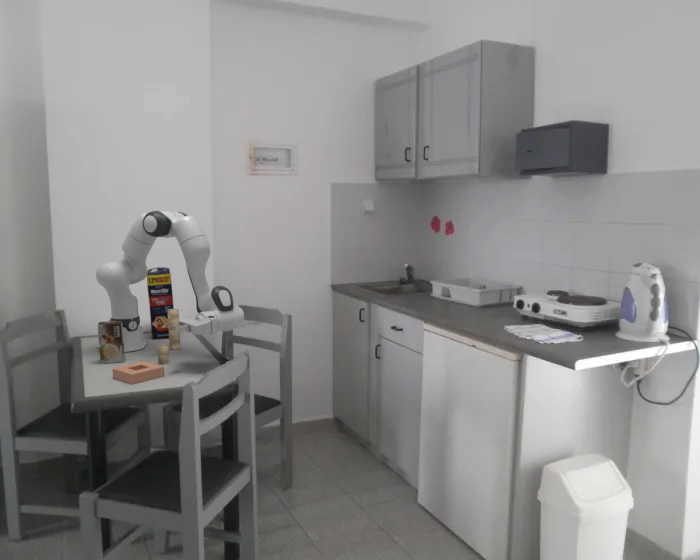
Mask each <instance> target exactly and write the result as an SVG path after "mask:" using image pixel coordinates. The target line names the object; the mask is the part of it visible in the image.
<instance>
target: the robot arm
mask: <svg viewBox="0 0 700 560" xmlns="http://www.w3.org/2000/svg"><path fill="white" fill-rule="evenodd" d="M158 238H166V239H168V238H175V239H176V241H177V242H178V245H179V247H180V249H181V251H182V252H181V253H182V255H183V258H184V261H185V265H186V269H187V271H186V272H187V275H188V277H189V281H190V284H191V288H192V290H193V292H194V296H195V300H196V311H197V315H196V316H179V326H175V327H174V331H176V332H178V331H180V332H188V333H189V334H192V335H196V336H197V335H199V336H204V335H210V336H212V335H213V336H215V335H217V333H218V332H228V331H233V330H234V331H235V330H237V329H239V328H240V327H241V326H242V325H243V324H244V322H245V313H244V310H243V309H242V308H241V307H240V306H239V305H237V303H236V302H235V299H234V298H233V297H234V296H233V294H232V292H231V291H230V289H229V288H227V287H225V286H224V285H216V286H215V287H213V288H212V289H211V290H210V286H209V284H208V281H207V279H206V278H207V277H206V266H207V263H208V261H209V259H210V256H211V251H212V250H211V247H210V243H209V240H208V237H207V236H206V233H205V232H204V229H203V228H202V226H201V225H200V222H199V221H198V220H197V219H196V218H195V217H194V216H192V215H187V214H186V213H185V212H182V211H174V210H152V211H150V212H143V213H141V214H140V215H139V216H138V217H137V218H136V220H135V221H134V223H133V224H132V226H131V228H130V229H129V231H128V233H127V235H126V237H125V239H124V241H123V243H122V245H121V249H122V251H123V252H124V253H123V257H122V258H121V259H120V260H116V261H109V262H106V263H104V264H101V265H100V266H99V267H98V268H96V269H97V270H96V271H95V272H96V273H95V277H96V281H97V284H99V285H100V286H101V287H103V289H105V291H106V293H107V295H108V298H109V301H110V313H111V318H109V321H122V323H123V337H124V351H125V353H128V352H134V351H135V352H136V351H140V350H142V349H144V348H145V346H147V344H148V343H147V342H146V341H145V337H144V330H143V327H142V326H141V318H140V314H139V301H138V298H137V296H135V295H134V294H132V292H131V289H130V285H134V284H135V285H136V284H137V283H140V282H142V281H143V280H145V279H147V273H148V270H149V269H148V265H146V264H147V263H146V262H147V258H148V255H149V253H150V251H151V250H152V248H153V246H154V244H155V242H156V240H157V239H158ZM96 348H99V343H98V344H96Z"/></svg>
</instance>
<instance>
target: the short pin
mask: <svg viewBox="0 0 700 560" xmlns="http://www.w3.org/2000/svg"><path fill="white" fill-rule="evenodd" d="M169 357H170V355H169V345H168V344H159V345H157V361H158V363H159V364H158V365H166V364H165V363H167V364H169V363H168V362H169V361H170V360H169V359H170V358H169Z"/></svg>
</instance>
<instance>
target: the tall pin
mask: <svg viewBox="0 0 700 560" xmlns="http://www.w3.org/2000/svg"><path fill="white" fill-rule="evenodd" d="M179 317H180V312H179V309H178V308H174V309H170V310H168V329H169V338H168V342H169V343H168V344H169V345H168V350H169V351H171V352H172V351H180V350H181V349H182V348H181V331H178V332H176V331H174V327H175V326H179Z"/></svg>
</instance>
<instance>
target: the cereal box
mask: <svg viewBox="0 0 700 560" xmlns="http://www.w3.org/2000/svg"><path fill="white" fill-rule="evenodd" d="M170 269H171V268H169V267H160V266H159V267H153V268H149V269H148V273H147V276H146V283H147V284H146V285H147V293H148V294H147V295H148V304H149V316H150V317H149V318H150V328H151V330H150V332H151V339H152V340H163V339H169V329H168V310H170V309H175V308H174V295H173V285H172V274H171V270H170Z"/></svg>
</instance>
